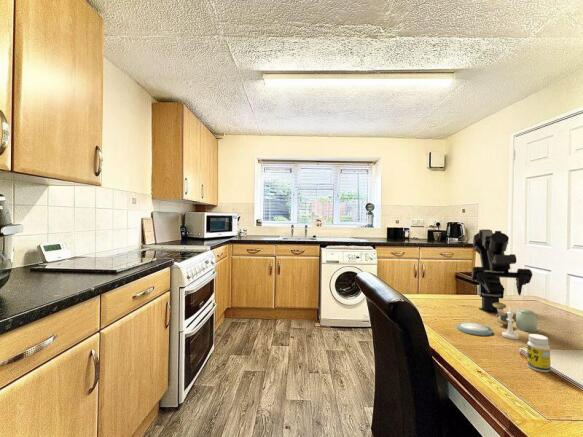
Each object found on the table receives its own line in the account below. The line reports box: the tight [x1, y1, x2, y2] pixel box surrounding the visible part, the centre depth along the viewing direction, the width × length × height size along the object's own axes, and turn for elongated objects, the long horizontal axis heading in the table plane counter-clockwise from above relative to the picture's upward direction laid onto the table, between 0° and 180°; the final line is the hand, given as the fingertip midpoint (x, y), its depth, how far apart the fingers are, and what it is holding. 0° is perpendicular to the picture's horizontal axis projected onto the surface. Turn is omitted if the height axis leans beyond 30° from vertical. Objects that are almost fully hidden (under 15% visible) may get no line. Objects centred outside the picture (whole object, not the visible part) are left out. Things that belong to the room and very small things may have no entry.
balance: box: [493, 301, 509, 325], centre depth 120 cm, size 17×5×6 cm, turn 152°
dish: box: [456, 322, 493, 337], centre depth 110 cm, size 11×11×1 cm
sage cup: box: [515, 308, 538, 333], centre depth 112 cm, size 6×6×7 cm
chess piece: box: [501, 306, 520, 340], centre depth 104 cm, size 5×5×10 cm
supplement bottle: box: [526, 333, 551, 373], centre depth 81 cm, size 5×5×8 cm
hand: (504, 293), depth 111 cm, fingers open, 9 cm apart
